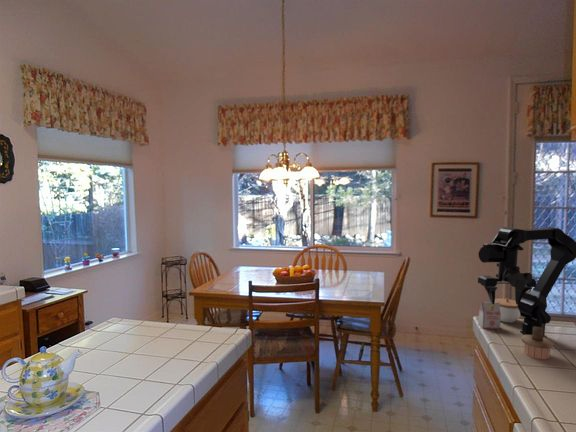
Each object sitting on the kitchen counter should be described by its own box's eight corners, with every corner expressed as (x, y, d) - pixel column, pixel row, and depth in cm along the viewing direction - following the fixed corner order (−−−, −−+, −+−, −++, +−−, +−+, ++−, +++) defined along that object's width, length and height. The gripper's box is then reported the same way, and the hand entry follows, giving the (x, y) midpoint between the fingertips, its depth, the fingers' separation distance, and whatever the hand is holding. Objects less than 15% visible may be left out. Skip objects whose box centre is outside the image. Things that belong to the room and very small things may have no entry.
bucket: (539, 350, 132) (540, 338, 132) (554, 359, 125) (555, 347, 125) (519, 350, 132) (520, 338, 131) (533, 359, 125) (534, 347, 124)
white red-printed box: (478, 324, 155) (479, 300, 155) (495, 325, 155) (496, 301, 154) (482, 328, 152) (484, 303, 151) (499, 328, 152) (501, 303, 151)
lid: (540, 337, 133) (542, 323, 132) (560, 348, 124) (561, 333, 123) (515, 337, 132) (516, 323, 132) (533, 348, 123) (534, 333, 123)
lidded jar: (525, 325, 156) (526, 302, 155) (496, 323, 158) (497, 300, 157) (515, 317, 166) (516, 295, 166) (488, 314, 168) (489, 293, 168)
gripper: (495, 266, 132) (492, 311, 133) (548, 267, 133) (545, 311, 134) (478, 260, 143) (475, 301, 144) (527, 261, 144) (524, 302, 145)
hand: (505, 304), depth 142 cm, fingers open, 9 cm apart
